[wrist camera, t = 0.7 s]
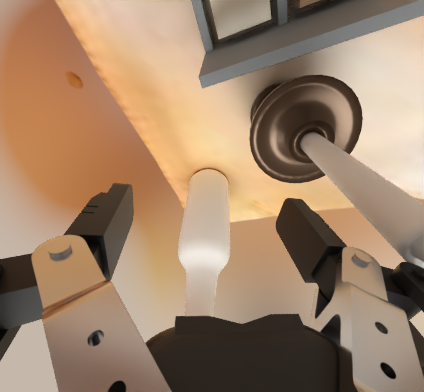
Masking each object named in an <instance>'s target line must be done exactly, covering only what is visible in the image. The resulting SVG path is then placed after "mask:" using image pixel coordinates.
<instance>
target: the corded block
mask: <svg viewBox="0 0 424 392" xmlns="http://www.w3.org/2000/svg"><path fill="white" fill-rule="evenodd" d="M210 4H211V9H212V13H213V17H214V22H215V26H216V31H217V35H218V39H221V38H224V37H226V36H229V35H231V34H234V33H237V32H239V31H242V30H244V29H247V28H250V27H252V26H255V25H257V24H260V23H263V22H265V21H268V20H270V19H271V10H270V0H210Z"/></svg>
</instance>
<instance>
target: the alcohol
mask: <svg viewBox="0 0 424 392" xmlns="http://www.w3.org/2000/svg"><path fill="white" fill-rule="evenodd" d="M178 255H179V260H180V262H181V264H182V265H183V267H184V268H185V270H186V274H187V283H186V303H185V316H211V317H214V308H215V297H216V287H217V278H218V275H219V272H220V271H221V270H222V269H223V268H224V267H225V265H226V264H227V262H228V259H229V255H230V222H229V187H228V181H227V179H226V177H225V176H224V175H223V174H221V173H220V172H218V171H216V170H212V169H205V170H201V171H199V172H197V173H195V174H194V175H193V176H192V177H191V179H190V183H189V188H188V194H187V200H186V205H185V211H184V217H183V222H182V228H181V234H180V240H179V245H178Z"/></svg>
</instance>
